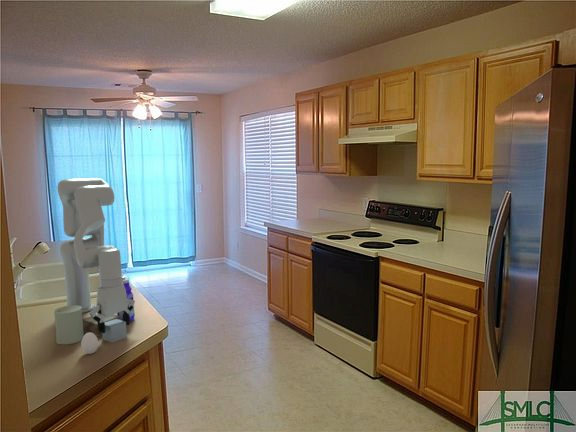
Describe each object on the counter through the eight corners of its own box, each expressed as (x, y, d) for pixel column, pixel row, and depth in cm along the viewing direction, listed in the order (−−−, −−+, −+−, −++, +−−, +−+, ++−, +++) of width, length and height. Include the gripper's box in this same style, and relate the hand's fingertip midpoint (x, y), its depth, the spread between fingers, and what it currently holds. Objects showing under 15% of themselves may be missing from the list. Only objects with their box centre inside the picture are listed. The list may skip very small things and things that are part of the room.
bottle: (127, 324, 177) (125, 281, 175) (114, 323, 178) (112, 281, 176) (137, 318, 184) (134, 277, 182) (124, 317, 185) (122, 276, 183)
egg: (101, 350, 152) (99, 329, 152) (95, 356, 147) (93, 335, 146) (85, 350, 152) (84, 329, 151) (79, 357, 147) (77, 335, 146)
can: (54, 338, 163) (51, 307, 162) (81, 332, 169) (78, 302, 167) (59, 346, 156) (56, 313, 154) (87, 340, 161) (84, 308, 160)
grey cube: (102, 339, 162) (101, 323, 162) (117, 334, 167) (116, 318, 166) (111, 343, 159) (110, 326, 158) (126, 337, 163) (125, 322, 163)
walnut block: (82, 331, 170) (82, 319, 170) (106, 323, 179) (105, 311, 178) (98, 337, 165) (97, 324, 164) (121, 328, 173) (120, 316, 172)
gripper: (126, 276, 169) (129, 319, 171) (82, 286, 156) (86, 333, 157) (138, 278, 165) (141, 323, 166) (93, 289, 151) (97, 338, 153)
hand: (114, 328), depth 162 cm, fingers open, 9 cm apart
